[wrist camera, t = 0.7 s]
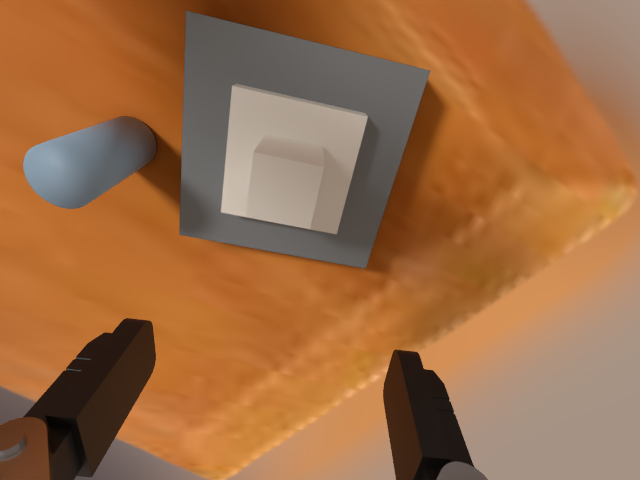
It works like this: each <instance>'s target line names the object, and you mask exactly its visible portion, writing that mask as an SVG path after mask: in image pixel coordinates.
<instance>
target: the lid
mask: <svg viewBox="0 0 640 480" xmlns="http://www.w3.org/2000/svg"><path fill="white" fill-rule="evenodd" d="M367 119H368V116H367V115H366V113H363V112H358V111H354V110H350V109H345V108H341V107H336V106H332V105H328V104H323V103H319V102H315V101H310V100H306V99H301V98H297V97H293V96H288V95H284V94H279V93H275V92H271V91H266V90H262V89H258V88H253V87H249V86H244V85H240V84H235V85H233V86H232V92H231V103H230V114H229V126H228V137H227V148H226V159H225V171H224V182H223V193H222V204H221V212H222V213H227V214H232V215H237V216H243V217H248V218H253V219H258V220H264V221H269V222H274V223H279V224H285V225H290V226H295V227H300V228H306V229H311V230H316V231H321V232H327V233H332V234H337V231H338V227H339V224H340V220H341V216H342V212H343V209H344V205H345V201H346V197H347V194H348V190H349V186H350V182H351V179H352V175H353V171H354V167H355V164H356V160H357V156H358V152H359V149H360V145H361V141H362V137H363V134H364V130H365V126H366V122H367Z"/></svg>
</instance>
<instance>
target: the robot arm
mask: <svg viewBox="0 0 640 480" xmlns="http://www.w3.org/2000/svg"><path fill="white" fill-rule="evenodd" d="M155 360H156V353H155V343H154V334H153V325H152V322H151V321H147V320H138V319H129V318H126V319H124V320H123V321H122V322H121V323H120V324H119V325H118V327H117V328H116V329H115V330H114V332H113V333H103V334H102V335H100V336H98V337H97V338H95V339H94V340H92V341H91V342H89V343H88V344H87V345H86V346H85V347H84V348H83V350H82V351H81V352H80V353H79V354H78V355H77V356H76V359H74V360H73V361H72V362H71V363H70V364H69V366H68V367H67V369H66V371H63V372H62V374H61V375H60V376H59V377H58V378H57V379H56V380H55V382H54V383H53V384H52V385H51V386H50V387H49V388H48V390H47V391H46V392H45V393H44V394H43V395H42V396H41V398H40V399H39V400H38V401H37V402H36V403H35V404H34V406H33V407H32V408H31V409H30V410H29V411H28V413H27V414H26V415H25V416H24V417H23V418H17V419H14V420H11V421H8V422H6V423H4V424H2V425H0V480H74V479H75V477H76V476H84V477H92V476H93V474H94V472H95V471H96V469H97V467H98V466H99V464H100V462H101V461H102V459H103V457H104V455H105V454H106V452H107V450H108V448H109V447H110V445H111V443H112V442H113V440H114V438H115V436H116V435H117V433H118V431H119V430H120V428H121V426H122V424H123V423H124V421H125V419H126V418H127V416H128V414H129V412H130V411H131V409H132V407H133V405H134V404H135V402H136V400H137V399H138V397H139V395H140V393H141V392H142V390H143V388H144V386H145V385H146V383H147V381H148V380H149V378H150V376H151V374H152V372H153V369H154V366H155ZM383 398H384V406H385V413H386V419H387V425H388V431H389V437H390V443H391V450H392V456H393V463H394V468H395V475H396V480H488V479H487V478H486V477H485V476H484V475H483V474H482V473H481V472H480V471H479V470H477V469H476V468H475V467H474V465H473V463H472V460H471V458H470V455H469V452H468V449H467V447H466V444H465V441H464V438H463V435H462V433H461V430H460V427H459V424H458V421H457V419H456V416H455V414H454V411H453V408H452V405H451V402H449V397H448V394H447V391H446V388H445V385H444V383H443V382H442V381H441V380H440V378H439V377H438V376H437V375H436V373H435V372H434V371H433V370H425V369H424V368H423V365H422V362H421V359H420V356H419V354H418V353H417V352H411V351H402V350H394V352H393V354H392V358H391V361H390V365H389V368H388V372H387V375H386V379H385V382H384V390H383Z"/></svg>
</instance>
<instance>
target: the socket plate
mask: <svg viewBox="0 0 640 480" xmlns="http://www.w3.org/2000/svg"><path fill="white" fill-rule="evenodd" d="M429 73H430V70H426V69H422V68H417V67H413V66H409V65H405V64H401V63H397V62H393V61H389V60H385V59H381V58H377V57H373V56H369V55H365V54H360V53H356V52H352V51H348V50H344V49H340V48H336V47H332V46H328V45H324V44H320V43H316V42H312V41H308V40H303V39H299V38H295V37H291V36H287V35H283V34H279V33H275V32H271V31H267V30H263V29H259V28H255V27H250V26H246V25H242V24H238V23H234V22H230V21H226V20H222V19H218V18H214V17H210V16H206V15H202V14H198V13H193V12H189V11H186V27H185V61H184V95H183V129H182V163H181V197H180V231H179V235H183V236H189V237H194V238H200V239H205V240H211V241H216V242H222V243H227V244H233V245H238V246H244V247H249V248H255V249H260V250H266V251H271V252H277V253H282V254H288V255H293V256H299V257H304V258H310V259H315V260H321V261H326V262H332V263H337V264H343V265H348V266H354V267H359V268H365V269H366V266H367V263H368V260H369V256H370V253H371V250H372V247H373V244H374V241H375V238H376V235H377V232H378V229H379V226H380V223H381V220H382V217H383V214H384V211H385V208H386V205H387V201H388V198H389V195H390V192H391V189H392V186H393V183H394V180H395V177H396V174H397V171H398V168H399V165H400V162H401V159H402V156H403V153H404V150H405V146H406V143H407V140H408V137H409V134H410V131H411V128H412V125H413V122H414V119H415V116H416V113H417V110H418V107H419V104H420V101H421V98H422V95H423V92H424V88H425V85H426V82H427V79H428V76H429ZM235 84H240V85H244V86H249V87H253V88H258V89H262V90H266V91H271V92H275V93H279V94H284V95H288V96H293V97H297V98H301V99H306V100H310V101H315V102H319V103H323V104H328V105H332V106H336V107H341V108H345V109H350V110H354V111H358V112H363V113H366V115H367V116H368V119H367V122H366V126H365V130H364V134H363V137H362V141H361V145H360V149H359V152H358V156H357V160H356V164H355V167H354V171H353V175H352V179H351V182H350V186H349V190H348V194H347V197H346V201H345V205H344V209H343V212H342V216H341V220H340V224H339V227H338V231H337V234H332V233H327V232H321V231H316V230H311V229H306V228H300V227H295V226H290V225H285V224H279V223H274V222H269V221H264V220H258V219H253V218H248V217H243V216H237V215H232V214H227V213H222V212H221V204H222V193H223V182H224V171H225V159H226V148H227V137H228V126H229V114H230V103H231V92H232V86H233V85H235Z"/></svg>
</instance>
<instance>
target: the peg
mask: <svg viewBox="0 0 640 480" xmlns="http://www.w3.org/2000/svg"><path fill="white" fill-rule="evenodd" d="M156 151H157V144H156V140H155V137H154V135H153V133H152V131H151V130H150V129H149V127H148V126H147V125H145V124H144V123H143V122H142V121H140V120H138V119H136V118H133V117H128V116H122V117H118V118H115V119H112V120H109V121H106V122H103V123H100V124H97V125H94V126H91V127H88V128H85V129H82V130H79V131H76V132H73V133H70V134H67V135H64V136H61V137H58V138H55V139H53V140H50V141H47V142H44V143H41V144H38V145H35V146H33V147H32V148H31V149H30V150H29V151H28V152H27V153H26V155H25V158H24V162H23V167H24V173H25V176H26V179H27V181H28V182H29V184H30V186H31V187H32V188H33V190H34V191H35V192H36V193H37V194H38V195H39V196H41V197H42V198H43V199H44V200H46V201H48V202H49V203H51V204H53V205H56V206H58V207H62V208H68V209H74V208H80V207H83V206H85V205H86V204H88V203H89V202H91V201H92V200H94V199H95V198H97V197H98V196H100V195H101V194H103V193H104V192H106V191H107V190H109V189H110V188H112V187H113V186H115V185H116V184H118V183H119V182H121V181H122V180H124V179H125V178H127V177H128V176H130V175H131V174H133V173H134V172H136V171H137V170H139V169H140V168H142V167H143V166H145V165H146V164H148V163H149V162H151V161H152V160H153V158H154V157H155V154H156Z"/></svg>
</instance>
